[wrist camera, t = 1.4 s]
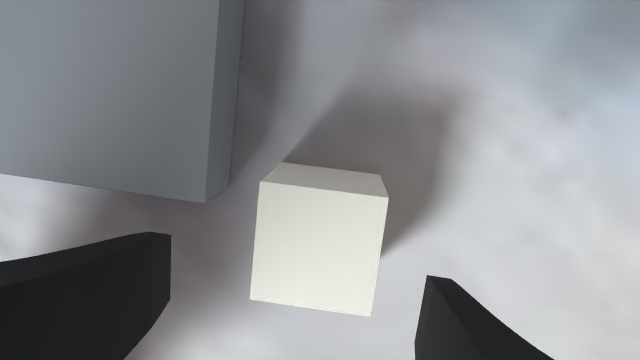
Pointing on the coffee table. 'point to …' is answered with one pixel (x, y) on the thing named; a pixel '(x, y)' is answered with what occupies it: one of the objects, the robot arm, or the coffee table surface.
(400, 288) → the coffee table surface
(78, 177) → the gray block
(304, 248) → the cream cube
